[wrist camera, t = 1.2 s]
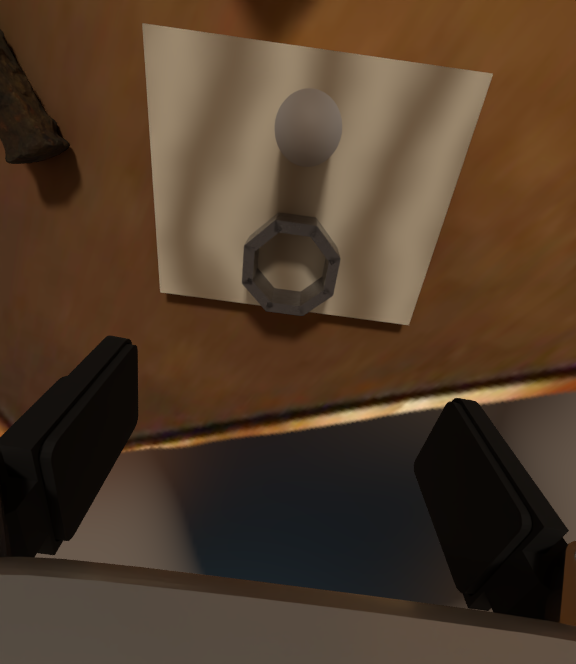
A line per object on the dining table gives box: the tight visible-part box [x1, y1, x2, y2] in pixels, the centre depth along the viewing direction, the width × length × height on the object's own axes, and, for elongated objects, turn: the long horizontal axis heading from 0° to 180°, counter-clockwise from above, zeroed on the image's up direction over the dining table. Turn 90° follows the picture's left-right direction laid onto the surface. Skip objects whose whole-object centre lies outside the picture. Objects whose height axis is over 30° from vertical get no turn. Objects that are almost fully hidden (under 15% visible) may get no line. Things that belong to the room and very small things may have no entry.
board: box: [142, 23, 493, 325], centre depth 24 cm, size 22×18×8 cm
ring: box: [242, 212, 341, 316], centre depth 27 cm, size 7×7×3 cm
